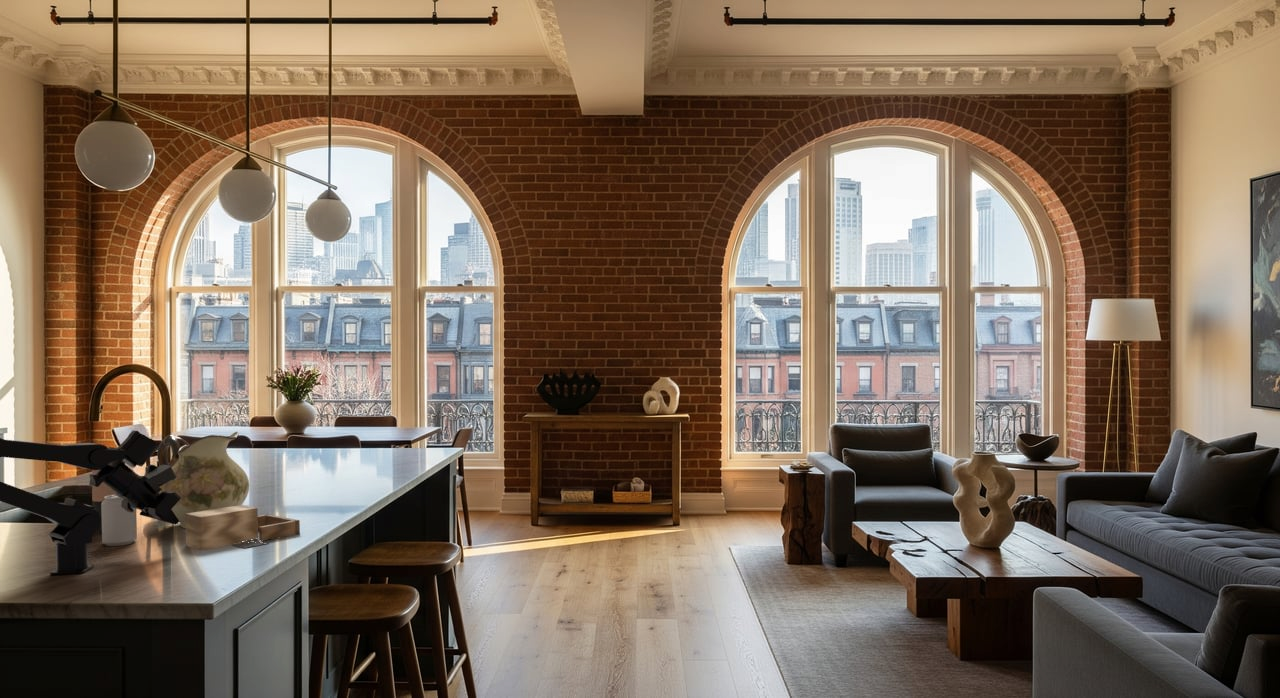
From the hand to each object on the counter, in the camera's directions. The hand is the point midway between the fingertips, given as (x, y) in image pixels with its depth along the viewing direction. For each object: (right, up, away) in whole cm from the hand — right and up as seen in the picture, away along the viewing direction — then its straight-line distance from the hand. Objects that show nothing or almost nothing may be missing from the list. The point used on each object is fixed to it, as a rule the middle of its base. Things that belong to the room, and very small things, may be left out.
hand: (177, 522), depth 209 cm
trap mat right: (+15, -6, +5) cm, 17 cm away
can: (-19, -7, +10) cm, 23 cm away
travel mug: (-31, -7, +25) cm, 40 cm away
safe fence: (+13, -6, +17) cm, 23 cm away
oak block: (+7, -7, +8) cm, 13 cm away
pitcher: (-10, -7, +32) cm, 35 cm away
